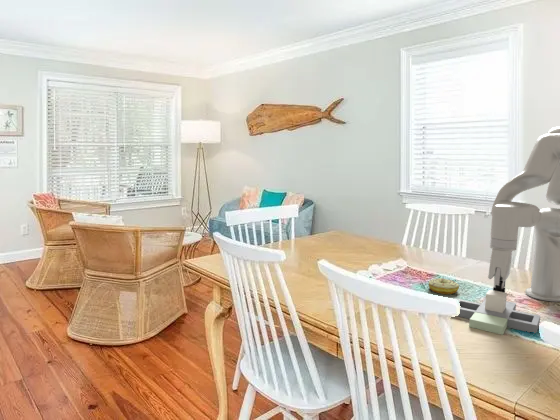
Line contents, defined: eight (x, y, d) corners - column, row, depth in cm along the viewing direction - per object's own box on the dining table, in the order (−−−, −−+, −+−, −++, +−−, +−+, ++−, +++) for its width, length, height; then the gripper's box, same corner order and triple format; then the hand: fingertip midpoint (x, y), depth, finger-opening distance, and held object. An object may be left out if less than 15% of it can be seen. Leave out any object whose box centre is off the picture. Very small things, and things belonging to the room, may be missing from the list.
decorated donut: (458, 288, 163) (458, 278, 162) (458, 297, 153) (459, 287, 152) (429, 284, 166) (429, 275, 166) (427, 293, 156) (428, 283, 156)
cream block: (488, 304, 138) (489, 289, 138) (505, 308, 135) (506, 292, 135) (484, 309, 134) (486, 293, 134) (502, 312, 131) (503, 297, 131)
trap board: (462, 299, 150) (462, 292, 150) (542, 315, 136) (543, 308, 136) (443, 320, 132) (443, 312, 131) (533, 341, 118) (534, 333, 117)
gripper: (494, 238, 144) (490, 291, 147) (485, 246, 132) (480, 303, 135) (520, 241, 140) (515, 295, 142) (512, 249, 128) (507, 309, 130)
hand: (498, 299), depth 139 cm, fingers closed
